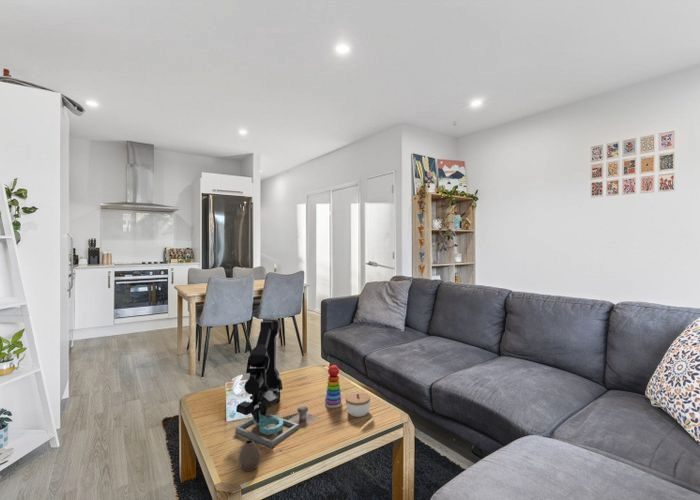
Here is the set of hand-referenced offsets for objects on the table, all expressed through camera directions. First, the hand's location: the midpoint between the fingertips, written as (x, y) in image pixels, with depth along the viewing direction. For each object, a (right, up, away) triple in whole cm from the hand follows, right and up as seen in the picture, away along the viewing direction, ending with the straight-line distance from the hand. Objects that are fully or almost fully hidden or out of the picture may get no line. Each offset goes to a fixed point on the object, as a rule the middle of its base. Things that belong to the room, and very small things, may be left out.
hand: (259, 421), depth 140 cm
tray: (+4, -3, -2) cm, 5 cm away
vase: (+3, -4, -24) cm, 24 cm away
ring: (+4, -1, -2) cm, 4 cm away
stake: (+17, -3, +5) cm, 18 cm away
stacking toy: (+29, -3, +19) cm, 35 cm away
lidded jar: (+40, -3, +10) cm, 42 cm away
